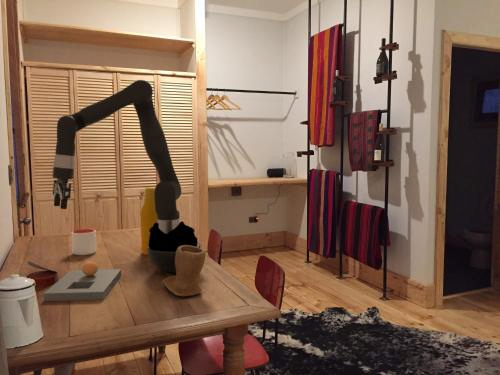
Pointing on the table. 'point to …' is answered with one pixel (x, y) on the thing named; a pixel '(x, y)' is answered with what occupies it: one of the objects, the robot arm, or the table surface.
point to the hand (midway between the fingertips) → (60, 207)
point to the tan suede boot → (186, 271)
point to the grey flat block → (83, 286)
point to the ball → (89, 268)
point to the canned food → (43, 276)
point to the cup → (84, 241)
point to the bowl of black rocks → (169, 245)
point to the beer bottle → (147, 218)
